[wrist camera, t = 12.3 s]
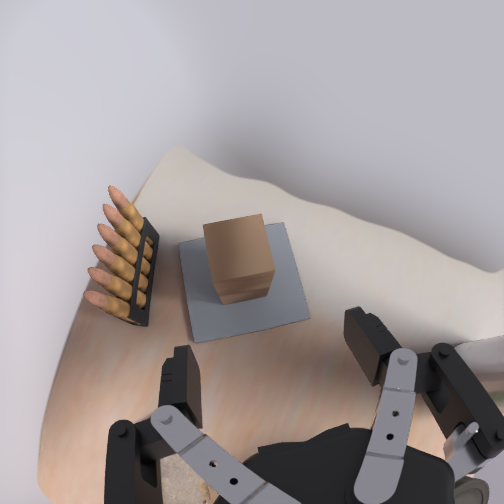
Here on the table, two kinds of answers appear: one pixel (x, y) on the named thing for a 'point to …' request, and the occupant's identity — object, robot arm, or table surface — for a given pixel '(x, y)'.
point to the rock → (182, 483)
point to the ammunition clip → (125, 262)
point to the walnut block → (239, 258)
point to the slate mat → (247, 312)
